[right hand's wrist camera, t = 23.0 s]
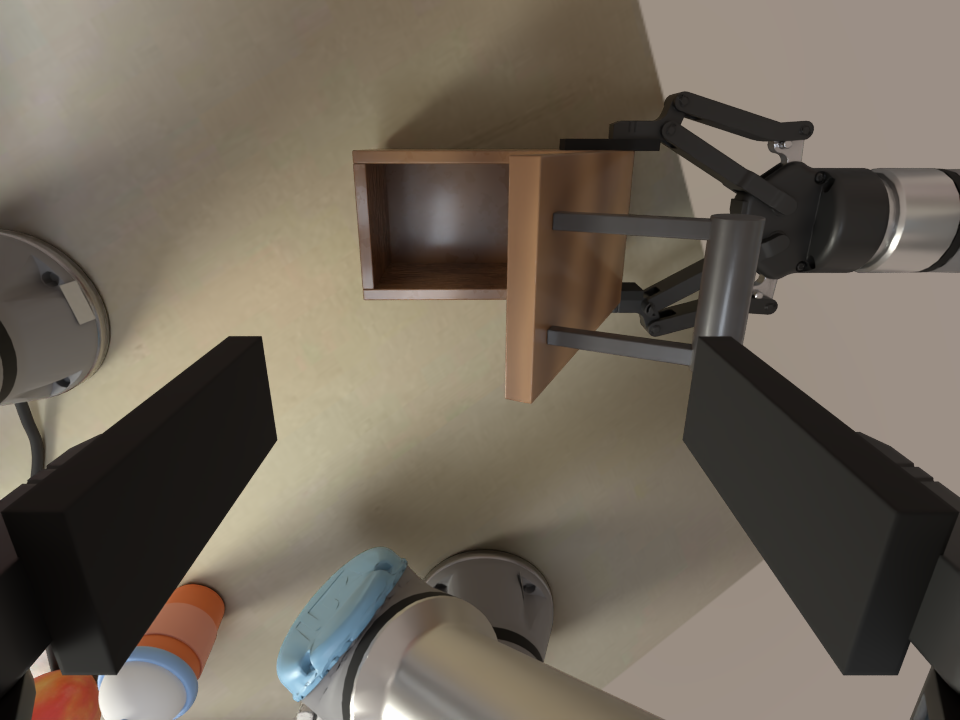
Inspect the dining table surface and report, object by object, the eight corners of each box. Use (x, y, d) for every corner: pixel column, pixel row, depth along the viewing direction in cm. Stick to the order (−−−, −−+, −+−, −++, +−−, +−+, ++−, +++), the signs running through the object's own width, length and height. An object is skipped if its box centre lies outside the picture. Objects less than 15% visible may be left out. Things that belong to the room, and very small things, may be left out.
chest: (383, 270, 49) (363, 300, 39) (376, 149, 45) (351, 150, 36) (581, 269, 49) (608, 299, 40) (590, 149, 45) (622, 150, 36)
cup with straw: (226, 569, 61) (129, 731, 44) (247, 631, 64) (165, 804, 47) (145, 576, 61) (19, 739, 44) (170, 637, 64) (62, 811, 48)
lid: (504, 399, 24) (726, 442, 21) (508, 154, 20) (778, 157, 17) (602, 301, 39) (739, 316, 36) (614, 150, 36) (769, 151, 32)
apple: (37, 695, 68) (-34, 782, 59) (40, 639, 65) (-34, 723, 55) (117, 712, 69) (61, 801, 60) (125, 658, 66) (66, 744, 56)
